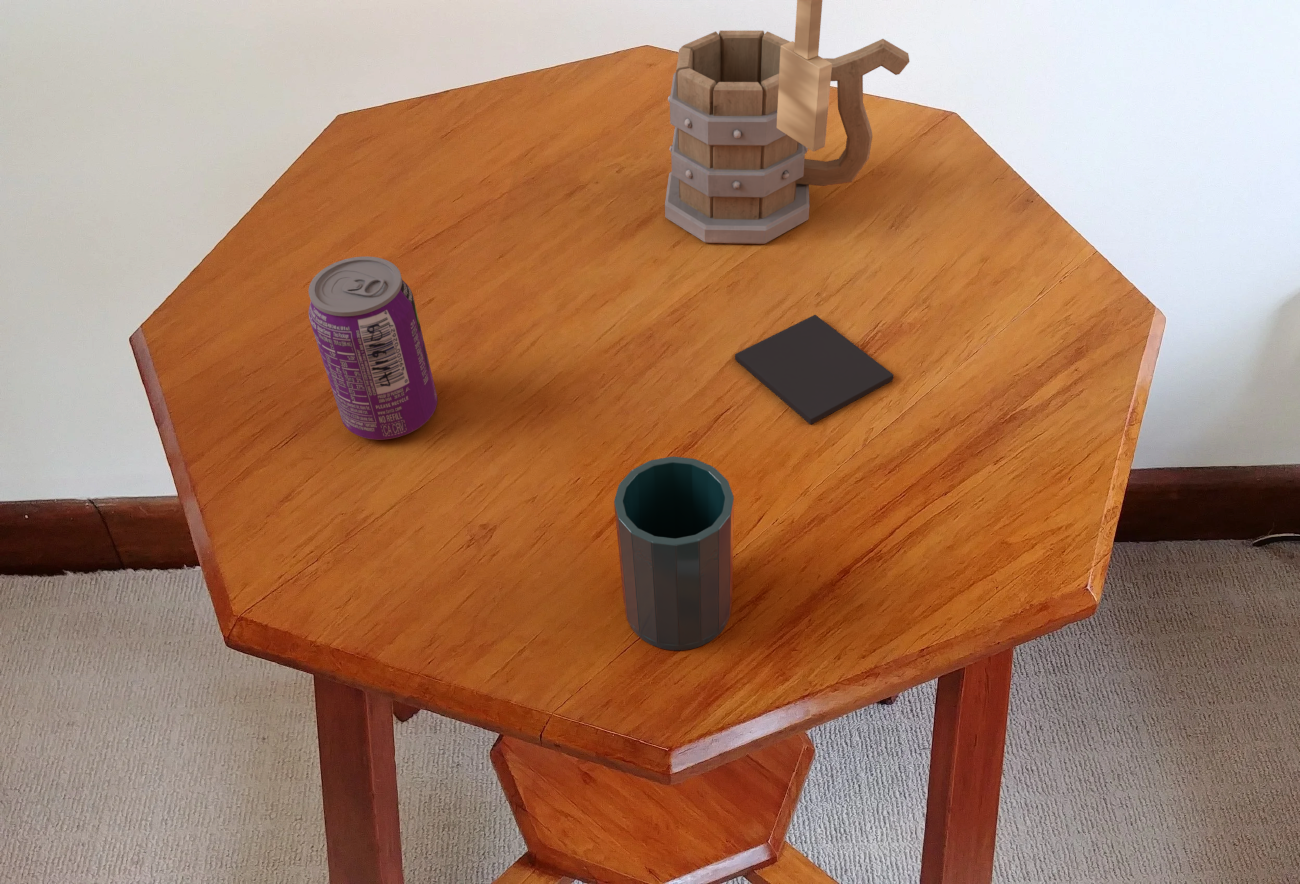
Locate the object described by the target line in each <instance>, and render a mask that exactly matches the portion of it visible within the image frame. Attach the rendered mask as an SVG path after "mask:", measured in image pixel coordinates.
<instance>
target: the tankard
mask: <svg viewBox="0 0 1300 884" xmlns="http://www.w3.org/2000/svg"><path fill="white" fill-rule="evenodd" d="M789 42H791V41H790V40H787V39H786V38H783V37H782V36H779V35H777V34H774V33H772V32H769V31H768V30H767V31H766V32H765V31H764V30H719V31H713V32H711V33H708V34H706V35H704V36H701V37H699V38H697V39H695V40H693V41H690V42H688V43H685V44H683V45H682V46H681V47H679V48H678V53H677V54H678V56H677V60H676V61H677V62H676V69H675V72H674V73H673V75H672V81H671V89H670V95H668V97H667V101H668V103H669V124H670V125H671V126H673V127H674V130H673V136H672V137H673V139H672V144H671V145H669V152H670V155H671V156H670V157H671V158H670V159H671V171H670V172H669V173H668V177H667V178H668V179H667V186H666V193H665V200H664V201H665V202H664V217H665V219H667V220H668V221H670V222H672V223H673V224H675V225H676V226H678V227H680V228H681V229H683V230H684V231H686V232H687V233H690V235H692V236H694V237H696V238H697V239H699V240H701V241H702V242H703V243H705V244H736V245H737V244H739V245H741V244H743V245H745V244H746V245H751V244H752V245H764V244H767V243H769V242H771V241H772V240H774V239H776V238H778V237H780V236H781V235H783V234H785V233H787V232H789V231H790V230H792V229H794V228H796V227H797V226H800V225H801V224H803V223H805V222H806V221H808V220H809V218H810V186H818V187H827V186H835V185H840V184H841V185H842V184H848V183H852V182H854V180H855V179H856V177H857V175H858V174H859V173H860V172H861V170H862V169H863V168H864V166H865V165H866V163H867V162H868V161H869V160H870V155H871V149H872V141H873V129H872V126H871V123H870V120H869V117H868V114H867V110H866V107H865V104H864V76H866V75H867V74H869V73H870V72H872V71H874V70H877V69H878V68H880V67H882V68H883V69H885V70H887V71H889V72H890V73H892V74H893V75H895V76H898V75H900V74H901V73H902V72H903V71H904V70H905V68H906V67H907V66H908V64H909V63H910V55H909V52H907V51H905V50H903V48H900V47H898V46H896V45H895V44H893V43H891V42H890V41H888V40H886V39H884V38H881V39H878V40H877V41H874V42H872V43H870V44H868V45H865V46H863V47H861V48H859V49H856V50H854V51H850V52H848V53H845V54H842V55H839V56H837V57H834V58H833V57H831V58H830V57H829V58H827V57H822V58H823V59H825V60H827V61H828V62H830V63H832V70H831V82H836V87H837V89H836V90H837V111H838V113H839V117H840V120H841V123H842V126H843V129H844V131H845V134H846V143H845V148H844V150H843V151H842V153H841V155H840V156H839V158H836V159H831V160H828V161H826V160H818V159H811V158H810V159H808V158H805V157H806V154H808V152H809V149H808V148H807V147H805V146H804V145H802V144H800V143H799V142H797V141H796V140H794V139H793V138H791V137H790V136H788V135H787V134H785V133H783V132H782V131H780V130H779V129H777V108H778V89H779V69H780V49H781V45H784V44H786V43H789Z"/></svg>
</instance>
